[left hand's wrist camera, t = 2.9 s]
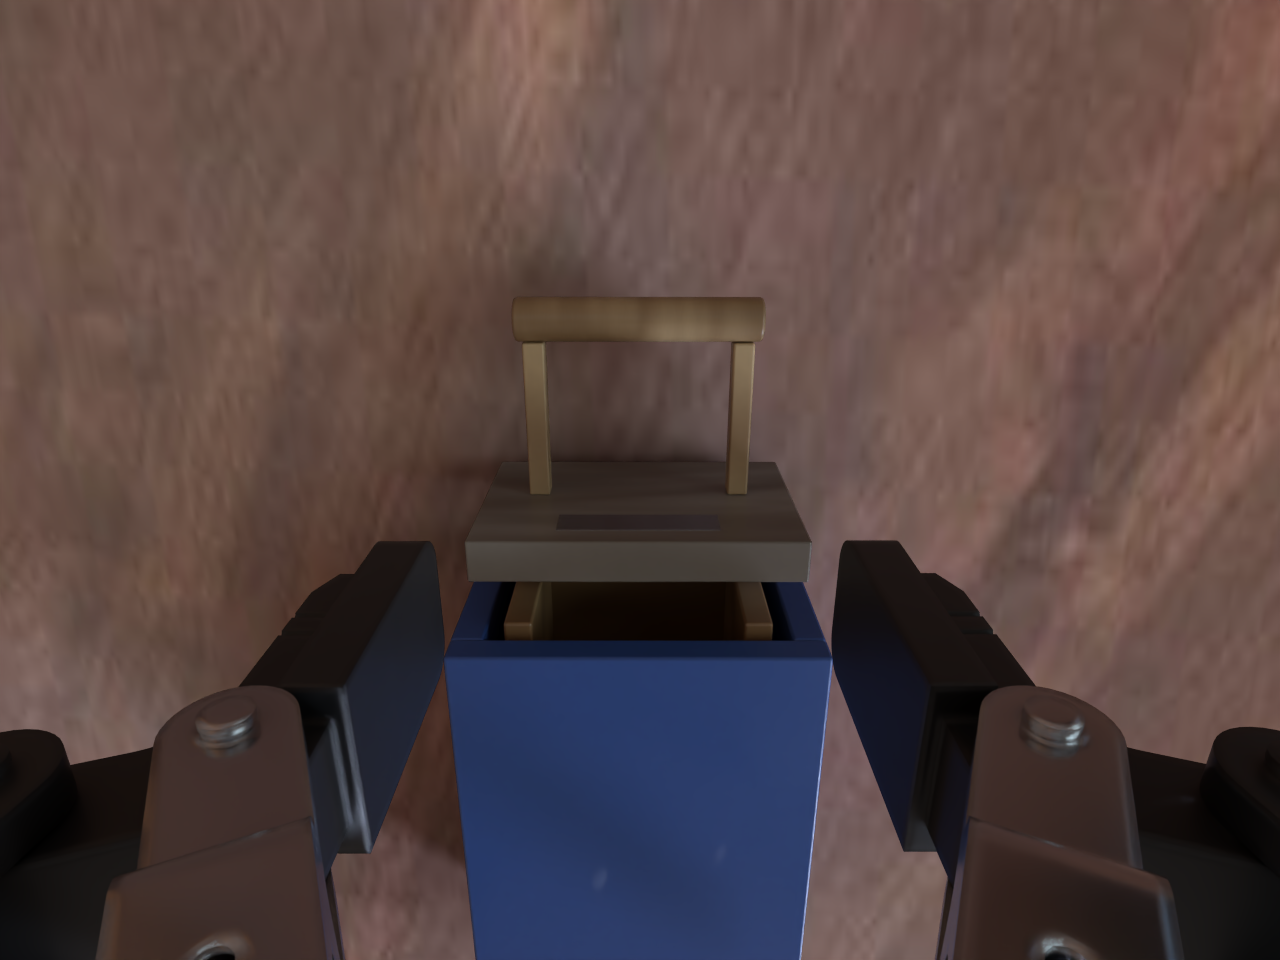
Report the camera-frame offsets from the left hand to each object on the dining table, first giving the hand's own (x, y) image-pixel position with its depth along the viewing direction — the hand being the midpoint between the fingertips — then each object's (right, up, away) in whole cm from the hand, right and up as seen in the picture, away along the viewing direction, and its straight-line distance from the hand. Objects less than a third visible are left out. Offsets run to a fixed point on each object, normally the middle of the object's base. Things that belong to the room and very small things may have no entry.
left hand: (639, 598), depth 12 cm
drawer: (0, -3, +16) cm, 17 cm away
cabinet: (0, -8, +19) cm, 21 cm away
